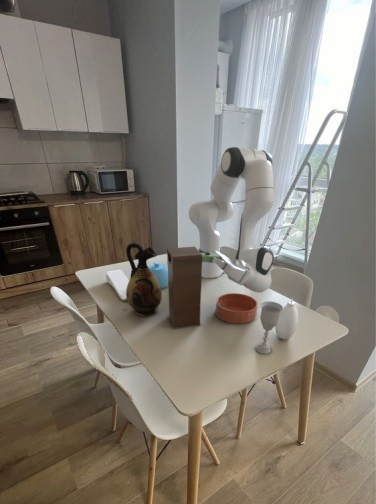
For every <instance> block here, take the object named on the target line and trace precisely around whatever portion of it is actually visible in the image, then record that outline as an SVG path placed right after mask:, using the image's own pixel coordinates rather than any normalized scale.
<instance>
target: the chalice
mask: <svg viewBox="0 0 376 504" xmlns="http://www.w3.org/2000/svg"><path fill="white" fill-rule="evenodd" d="M260 307H261V311H260V317H259V318H260V323H261V326H262V329H263V330H265V331H264V333H263V335H264V337H262V339H263V341H262V342H260V343H259V344H258V345H257V347H256V351H257V352H258V353H260V354H265V355H267V354H269V353H271V346H270V345H269V343H268V342H267V341H268V340H269V338H268V336H270V334H269V332H270V331H272V330H273V329H275V325H276V324H277V322H278V321H279V316H280V312H281V310H282V309H283V308H284V306H283V305H282V304H280V303H278V302H275V301H271V300H270V301H268V300H267V301H263V302H261V303H260Z"/></svg>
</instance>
